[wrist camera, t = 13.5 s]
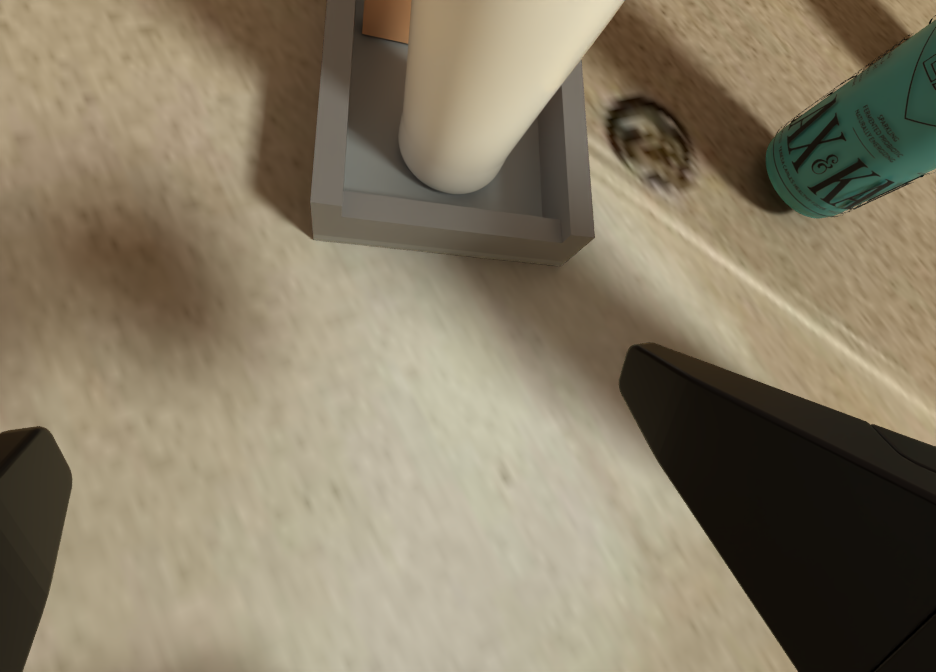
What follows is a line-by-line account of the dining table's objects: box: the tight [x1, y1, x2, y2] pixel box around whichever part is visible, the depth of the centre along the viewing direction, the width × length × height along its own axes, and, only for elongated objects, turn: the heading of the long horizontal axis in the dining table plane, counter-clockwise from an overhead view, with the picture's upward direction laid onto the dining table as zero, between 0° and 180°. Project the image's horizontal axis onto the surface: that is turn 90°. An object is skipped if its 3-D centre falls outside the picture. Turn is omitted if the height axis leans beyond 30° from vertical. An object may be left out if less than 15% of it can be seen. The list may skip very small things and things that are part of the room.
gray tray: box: [310, 0, 595, 266], centre depth 23 cm, size 18×12×6 cm
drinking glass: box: [398, 0, 625, 194], centre depth 17 cm, size 7×7×15 cm
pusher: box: [362, 0, 411, 44], centre depth 23 cm, size 1×9×5 cm, turn 90°
